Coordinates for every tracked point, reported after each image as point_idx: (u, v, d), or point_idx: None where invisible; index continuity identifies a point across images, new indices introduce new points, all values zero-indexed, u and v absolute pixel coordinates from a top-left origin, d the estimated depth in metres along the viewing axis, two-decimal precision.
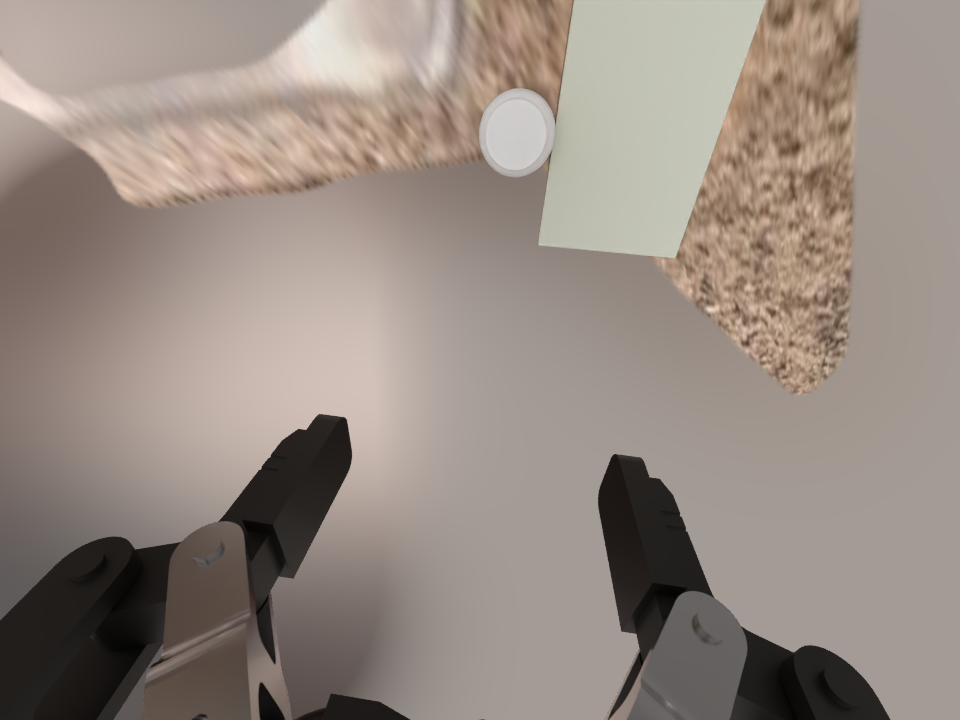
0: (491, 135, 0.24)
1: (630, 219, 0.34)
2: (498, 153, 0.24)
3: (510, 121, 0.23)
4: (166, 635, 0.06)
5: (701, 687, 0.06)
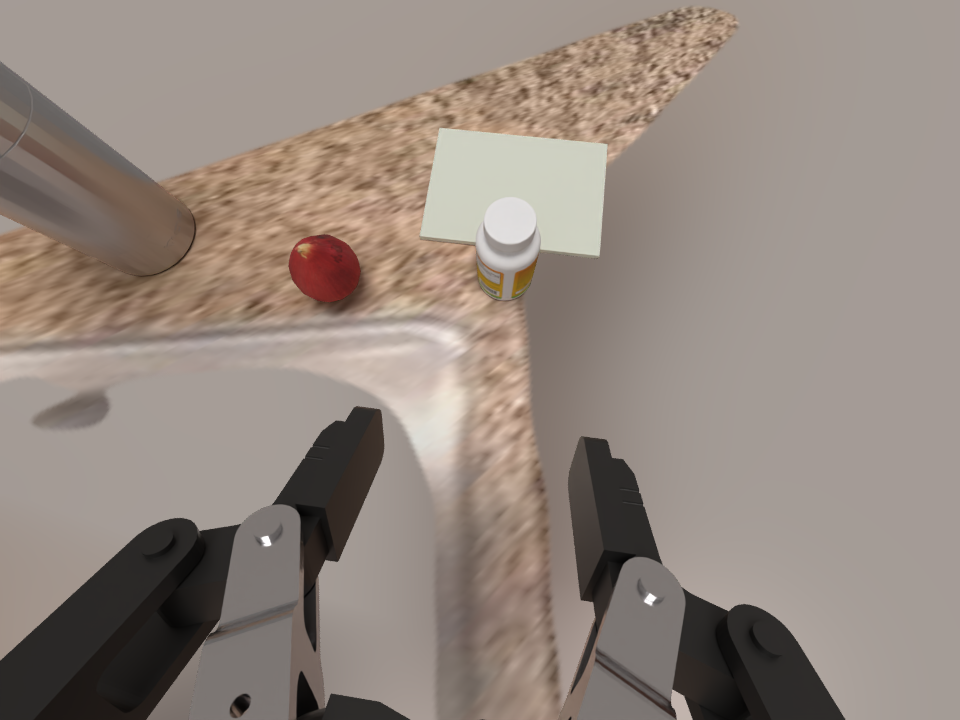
0: (508, 238, 0.27)
1: (574, 182, 0.38)
2: (522, 233, 0.27)
3: (499, 223, 0.27)
4: (225, 607, 0.06)
5: (648, 645, 0.06)
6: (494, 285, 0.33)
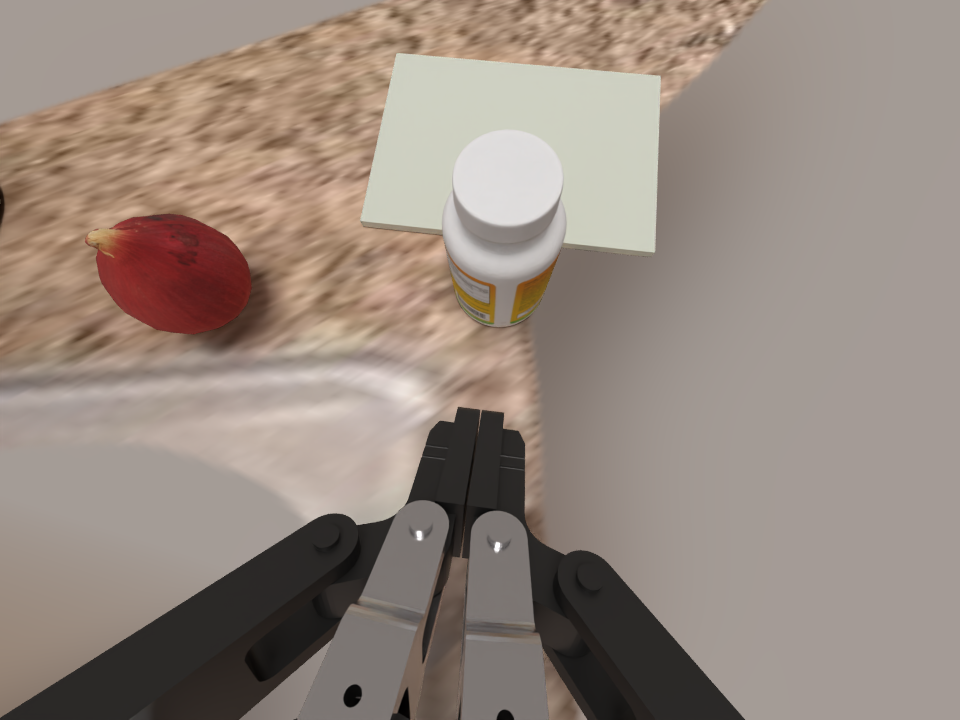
0: (504, 214, 0.13)
1: (610, 134, 0.24)
2: (534, 203, 0.13)
3: (484, 183, 0.13)
4: (369, 581, 0.07)
5: (508, 588, 0.07)
6: (480, 304, 0.19)
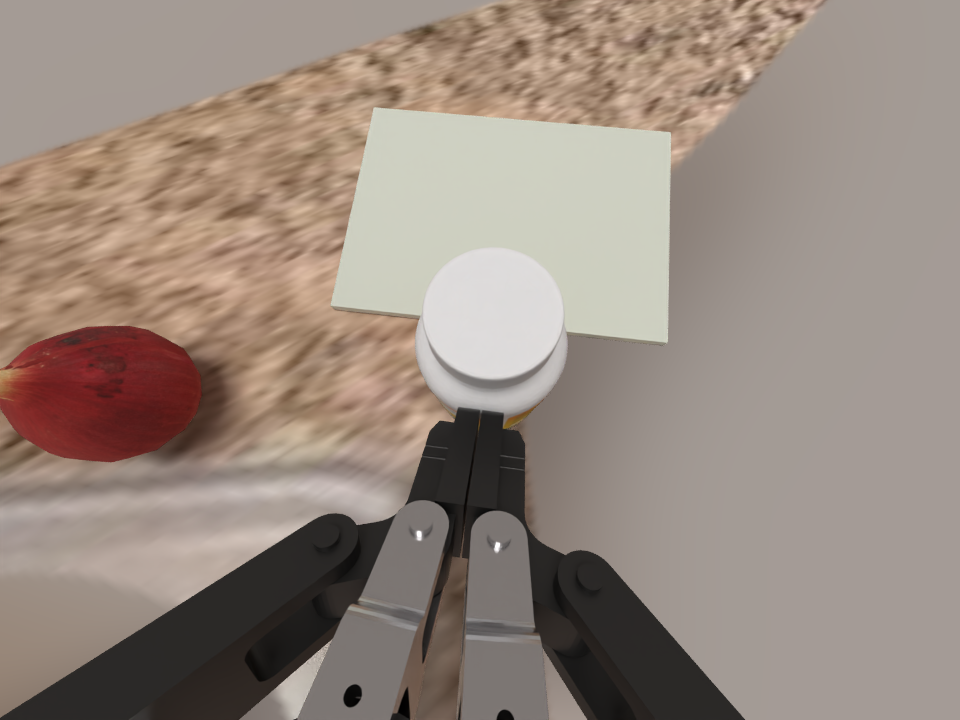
0: (488, 363, 0.10)
1: (615, 202, 0.21)
2: (527, 348, 0.10)
3: (463, 320, 0.10)
4: (370, 581, 0.07)
5: (508, 588, 0.07)
6: None
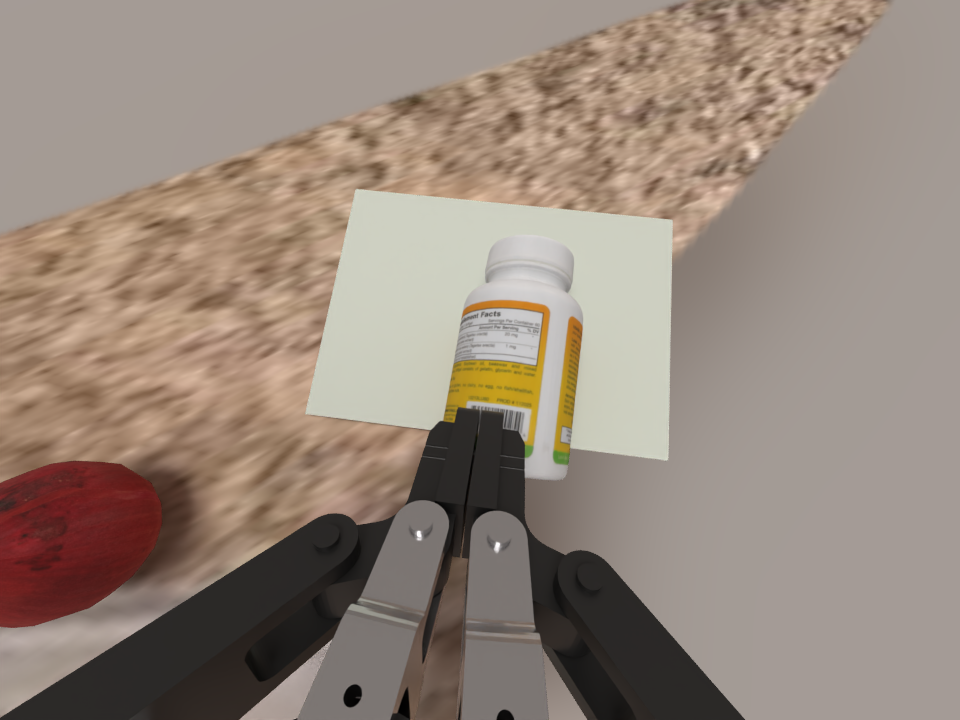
0: None
1: (612, 298, 0.20)
2: None
3: None
4: (369, 581, 0.07)
5: (508, 588, 0.07)
6: (521, 377, 0.13)
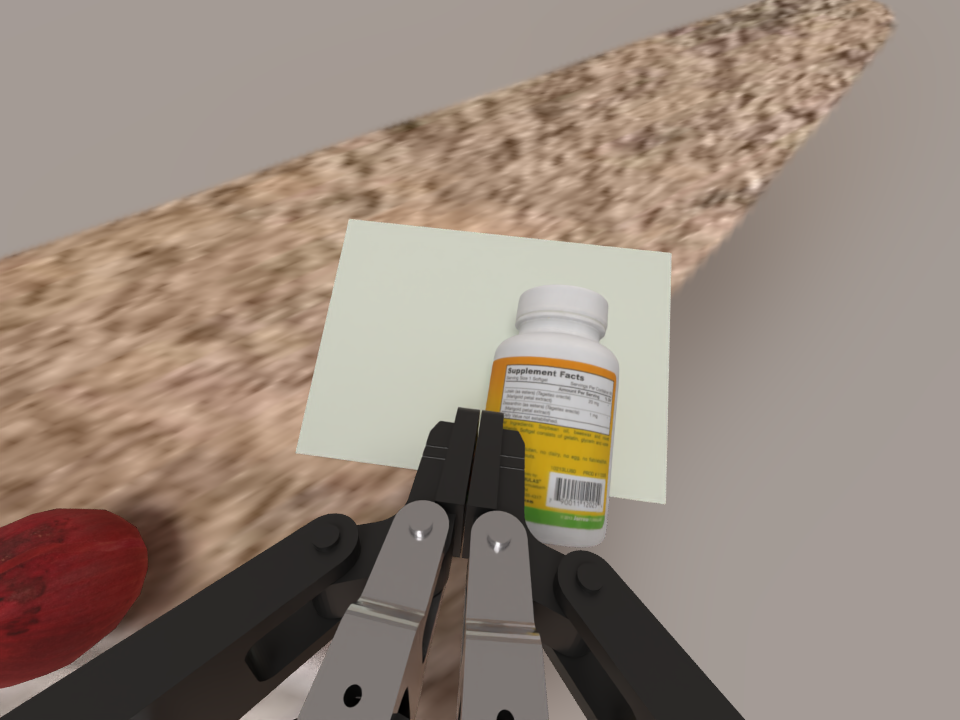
0: None
1: (609, 334, 0.19)
2: None
3: None
4: (369, 581, 0.07)
5: (508, 588, 0.07)
6: (601, 447, 0.13)
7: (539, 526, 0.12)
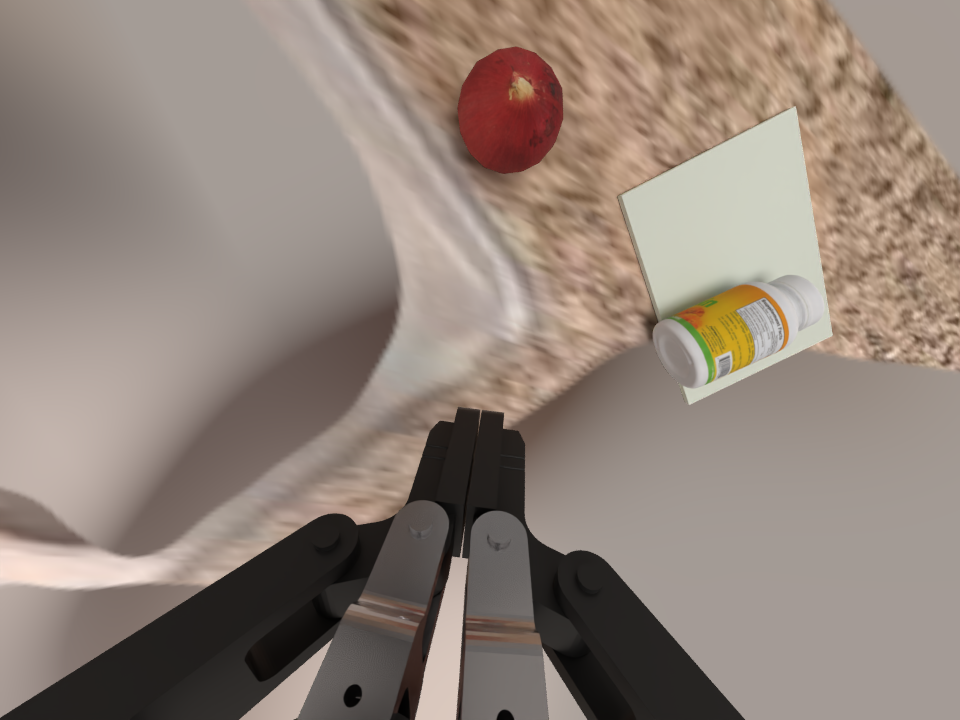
0: None
1: None
2: None
3: None
4: (369, 581, 0.07)
5: (508, 588, 0.07)
6: (744, 365, 0.25)
7: (704, 360, 0.24)
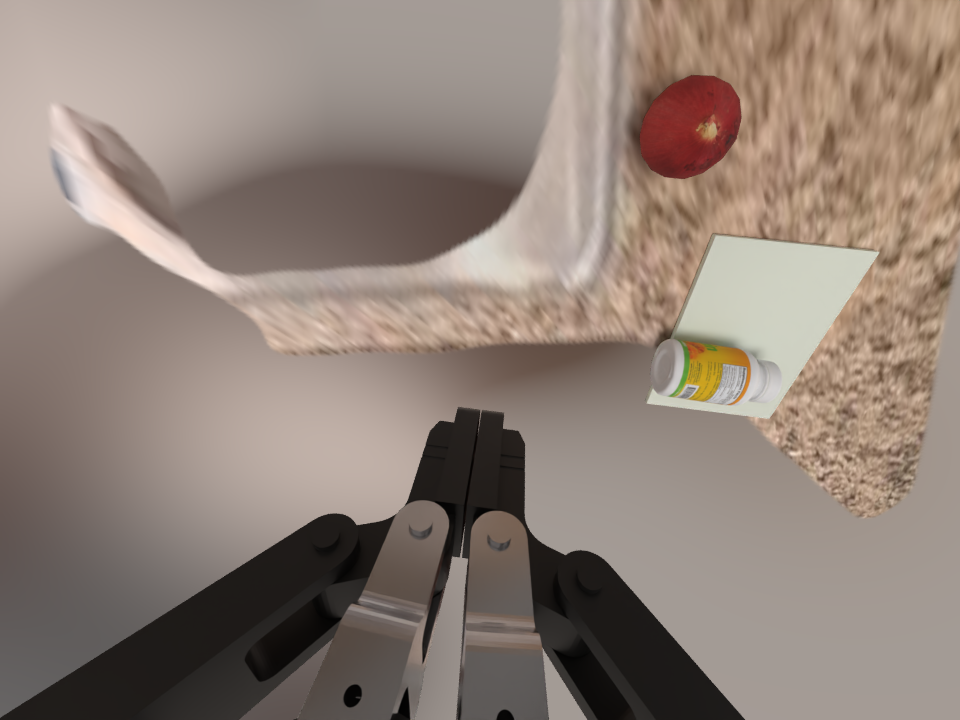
0: None
1: None
2: None
3: None
4: (369, 581, 0.07)
5: (508, 588, 0.07)
6: (700, 400, 0.34)
7: (678, 381, 0.32)
